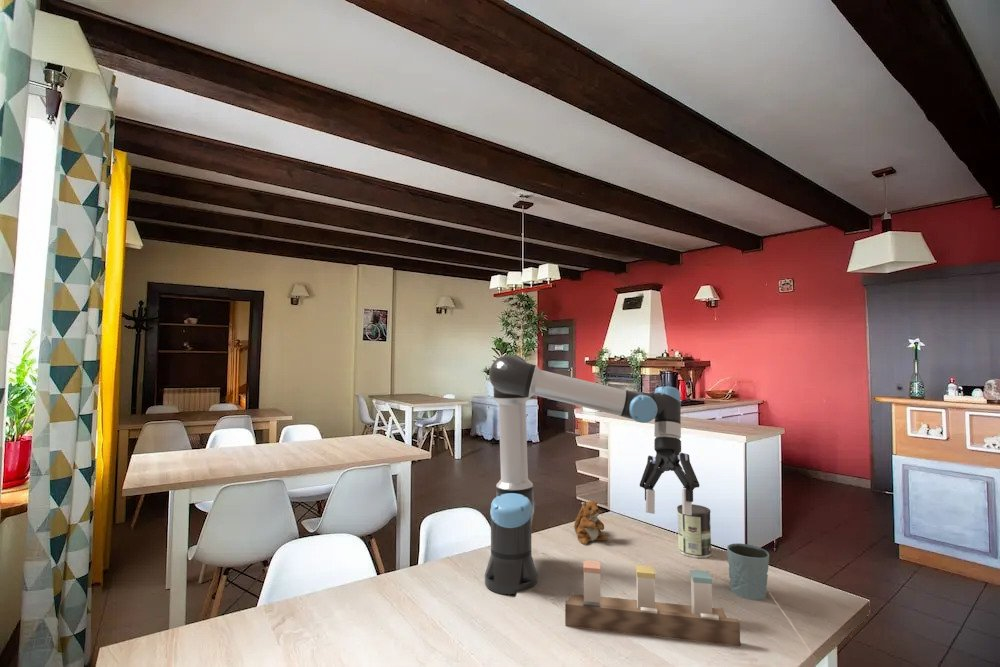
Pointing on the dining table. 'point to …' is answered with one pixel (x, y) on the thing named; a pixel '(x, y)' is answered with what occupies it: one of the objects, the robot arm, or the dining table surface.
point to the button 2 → (701, 592)
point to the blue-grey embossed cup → (748, 570)
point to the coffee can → (694, 532)
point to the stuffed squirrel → (589, 523)
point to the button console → (652, 620)
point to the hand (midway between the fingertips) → (667, 514)
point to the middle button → (645, 586)
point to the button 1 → (591, 581)
